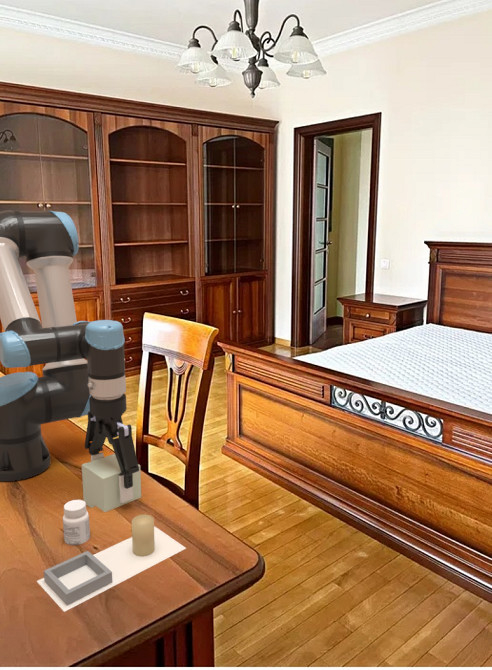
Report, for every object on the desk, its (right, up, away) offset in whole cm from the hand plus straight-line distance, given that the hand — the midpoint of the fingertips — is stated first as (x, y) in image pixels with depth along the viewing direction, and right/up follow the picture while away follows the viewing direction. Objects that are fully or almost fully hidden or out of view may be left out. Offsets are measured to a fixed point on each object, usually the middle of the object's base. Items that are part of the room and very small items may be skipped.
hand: (112, 490), depth 118 cm
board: (+6, -8, -22) cm, 24 cm away
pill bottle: (-3, -6, -14) cm, 16 cm away
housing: (0, -3, +1) cm, 3 cm away
